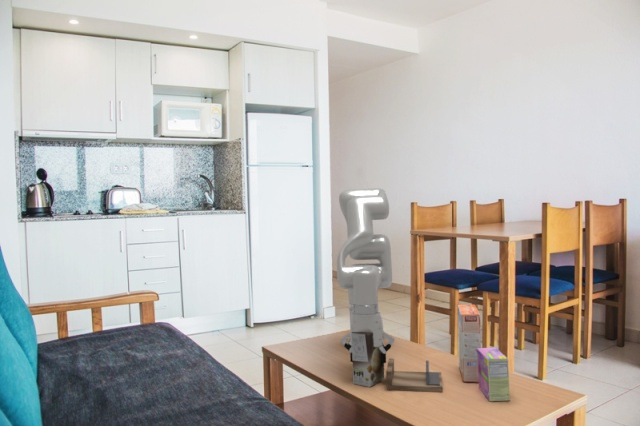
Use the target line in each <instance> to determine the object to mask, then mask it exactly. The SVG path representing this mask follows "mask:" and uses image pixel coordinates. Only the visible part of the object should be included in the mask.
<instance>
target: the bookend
mask: <svg viewBox="0 0 640 426" xmlns="http://www.w3.org/2000/svg"><path fill="white" fill-rule="evenodd" d="M429 364H430V362H429V360H425V372H426V385H433V386H440V380H439V372H440V371H439V372H437V371H430V365H429Z"/></svg>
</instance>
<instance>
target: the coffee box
mask: <svg viewBox="0 0 640 426" xmlns="http://www.w3.org/2000/svg"><path fill="white" fill-rule="evenodd" d="M351 333H352V362H353V363H352V362H351V363H352V383H353V384H354V385H359V386H363V387H368V388H371V387H373V386H374V385H376V384H377V383H379V382H381V381H382V380H384V379H385V365H384V366H383V367H382V366H381V350H380V349H379V347H374V338H373V333H371V332H369V333H368V332H351Z"/></svg>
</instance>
